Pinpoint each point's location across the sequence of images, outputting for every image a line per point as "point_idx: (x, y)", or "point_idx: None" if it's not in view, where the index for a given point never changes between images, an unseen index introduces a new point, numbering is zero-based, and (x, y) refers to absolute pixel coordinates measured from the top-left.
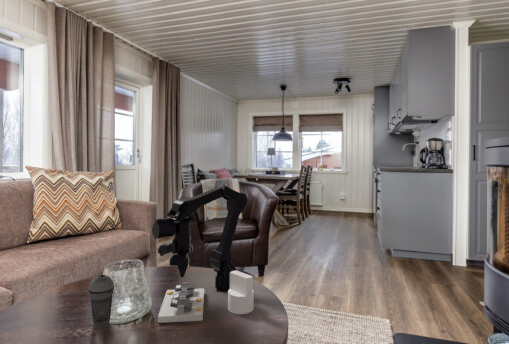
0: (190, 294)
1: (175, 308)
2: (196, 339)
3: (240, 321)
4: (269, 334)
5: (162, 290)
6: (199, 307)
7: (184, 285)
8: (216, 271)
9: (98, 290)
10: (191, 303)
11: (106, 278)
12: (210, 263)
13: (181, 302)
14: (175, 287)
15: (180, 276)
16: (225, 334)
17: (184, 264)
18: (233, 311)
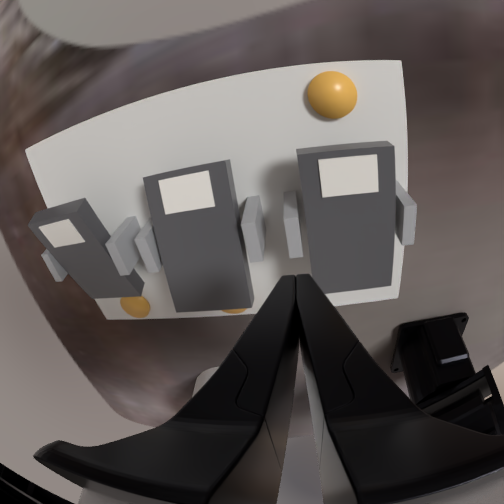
0: (174, 298)
1: (110, 202)
2: (31, 293)
3: (154, 383)
4: (125, 409)
5: (454, 24)
6: (146, 309)
7: (369, 220)
8: (470, 379)
9: None
10: (125, 293)
11: None
12: (487, 409)
13: (87, 260)
14: (334, 152)
15: (277, 282)
16: (82, 351)
17: (9, 478)
18: (197, 380)
